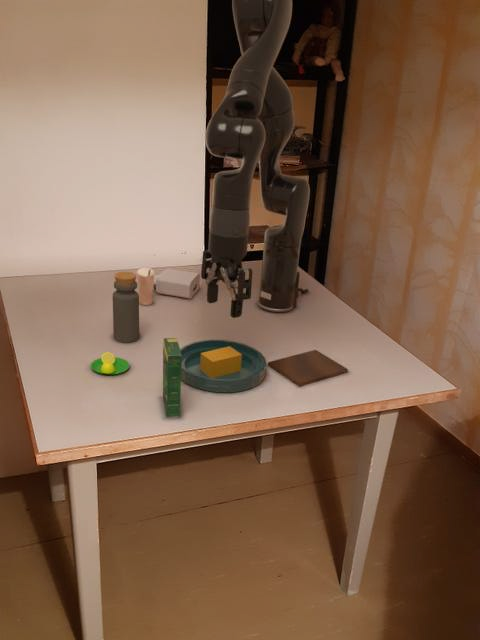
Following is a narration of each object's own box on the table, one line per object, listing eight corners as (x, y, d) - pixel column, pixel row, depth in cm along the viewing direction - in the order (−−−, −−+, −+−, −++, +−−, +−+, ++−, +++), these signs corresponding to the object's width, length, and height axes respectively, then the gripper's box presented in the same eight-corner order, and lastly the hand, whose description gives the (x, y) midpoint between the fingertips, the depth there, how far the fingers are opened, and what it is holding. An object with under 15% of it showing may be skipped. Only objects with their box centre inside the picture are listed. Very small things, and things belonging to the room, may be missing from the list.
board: (315, 352, 155) (315, 349, 155) (347, 372, 148) (348, 369, 148) (267, 365, 148) (267, 362, 148) (299, 386, 141) (299, 383, 140)
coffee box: (161, 396, 133) (162, 336, 126) (176, 396, 133) (177, 336, 126) (165, 418, 126) (166, 355, 119) (180, 417, 127) (182, 355, 120)
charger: (148, 280, 187) (199, 288, 185) (135, 291, 179) (189, 300, 177) (148, 263, 184) (200, 272, 182) (135, 274, 177) (190, 283, 174)
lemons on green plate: (85, 363, 142) (85, 351, 141) (121, 356, 146) (120, 345, 145) (99, 379, 137) (98, 367, 135) (135, 372, 141) (135, 360, 139)
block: (228, 362, 147) (229, 346, 145) (240, 371, 144) (242, 354, 142) (199, 369, 143) (200, 352, 141) (211, 378, 140) (212, 361, 138)
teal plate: (231, 345, 155) (232, 333, 154) (282, 380, 143) (284, 367, 141) (159, 362, 145) (159, 349, 144) (207, 401, 133) (208, 388, 131)
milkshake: (140, 308, 170) (140, 270, 165) (134, 300, 174) (134, 263, 169) (158, 306, 172) (158, 269, 166) (151, 299, 176) (152, 262, 170)
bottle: (134, 344, 152) (133, 281, 144) (109, 340, 153) (107, 277, 145) (142, 334, 157) (142, 272, 149) (118, 330, 158) (117, 269, 150)
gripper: (267, 238, 125) (259, 319, 134) (224, 218, 135) (219, 294, 143) (234, 242, 121) (228, 325, 130) (192, 221, 131) (189, 300, 139)
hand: (223, 309), depth 136 cm, fingers open, 8 cm apart
